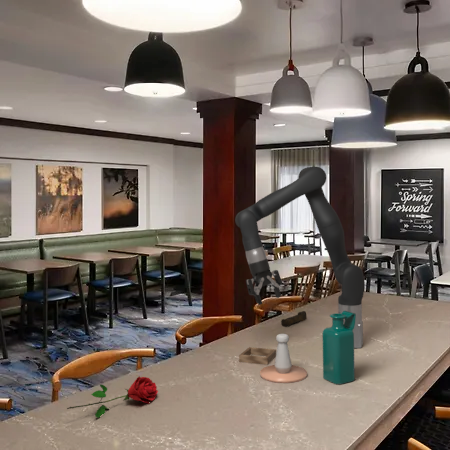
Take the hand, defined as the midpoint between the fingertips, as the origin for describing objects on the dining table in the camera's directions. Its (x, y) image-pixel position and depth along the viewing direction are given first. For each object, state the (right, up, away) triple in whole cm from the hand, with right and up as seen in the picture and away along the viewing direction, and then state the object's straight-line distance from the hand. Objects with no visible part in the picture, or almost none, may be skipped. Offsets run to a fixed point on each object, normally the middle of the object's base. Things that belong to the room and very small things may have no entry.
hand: (269, 300), depth 198 cm
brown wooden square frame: (-5, -22, -2) cm, 22 cm away
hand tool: (+17, -19, +52) cm, 58 cm away
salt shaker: (+3, -22, -21) cm, 30 cm away
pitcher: (+21, -22, -26) cm, 40 cm away
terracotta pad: (+3, -22, -21) cm, 31 cm away
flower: (-49, -25, -47) cm, 72 cm away
